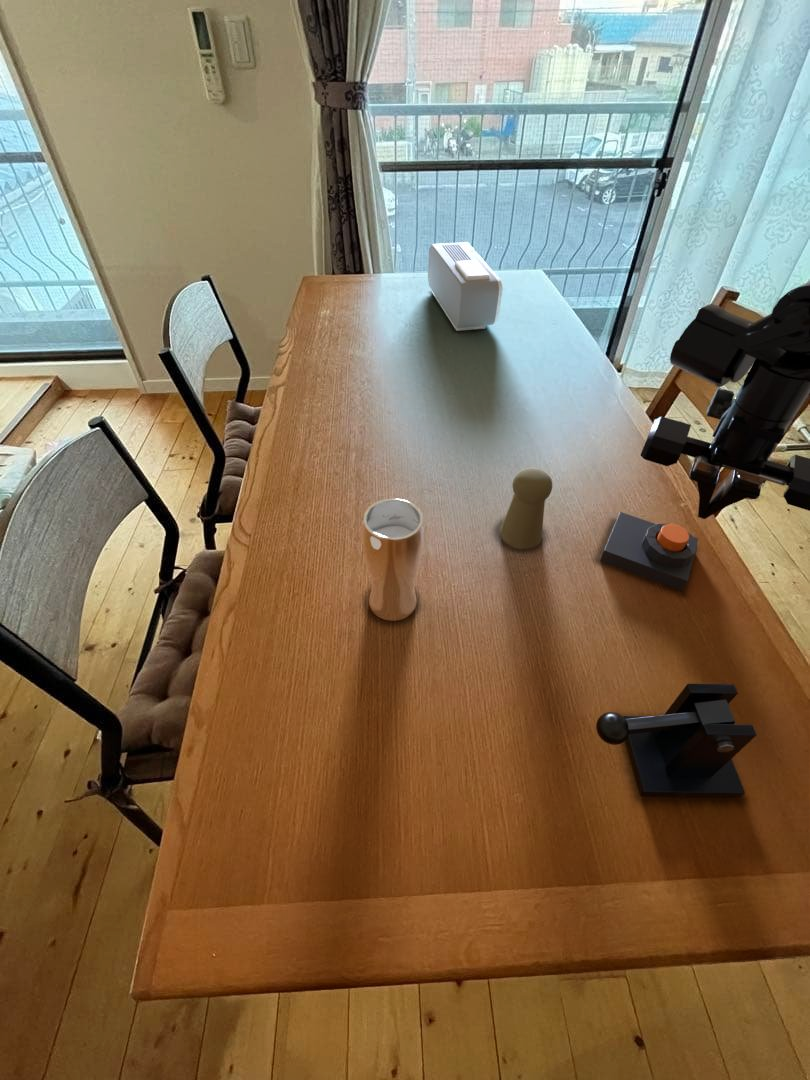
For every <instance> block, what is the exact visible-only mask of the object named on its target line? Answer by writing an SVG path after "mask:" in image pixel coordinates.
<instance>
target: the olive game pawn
mask: <svg viewBox="0 0 810 1080" xmlns="http://www.w3.org/2000/svg"><path fill="white" fill-rule="evenodd" d="M552 490H553V480H552V478H551V476H550V475H549V473H548V472H547V471H545V470H543V469H541V468H538V467H525V468H523V469H520V471H518V472H517V473H516V474H515V476H514V477H513V480H512V492H513V496H512V498H511V502H510V504H509V506H508V509H507V511H506V514H505V516H504V519H503V522H502V525H501V527H500V528H499V537H500V538H501V539H502V541H503V542H504V543H505V544H506V545H508V546H510V547H512V548H515V549H518V550H528V549H533V548H536V547H537V546H538V545H539V544H540V543H541V540H542V539H543V526H544V517H545V516H544V515H545V506H546V505H545V504H546V500H547V499H548V498H549V497H550V495H551V493H552Z"/></svg>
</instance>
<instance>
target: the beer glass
mask: <svg viewBox="0 0 810 1080" xmlns="http://www.w3.org/2000/svg"><path fill="white" fill-rule="evenodd" d="M424 537H425V536H424V516H423V512H422V511H421V509H420V508H419V507H418V506H417V505H416V504H414V503H412V502H411V501H408V500H406V499H403V498H385V499H381V500H377V501H375V502H374V503H372V504H371V505H369V507H368V508H367V509H366V510H365V512H364V514H363V527H362V550H363V558H364V563H365V566H366V570H367V572H368V575H369V580H370V583H371V590H370V593H369V597H368V598H369V600H368V604H369V608H370V610H371V611H372V613H373V614H374V615H375V616H376V617H378V618H380V619H381V620H384V621H389V622H396V621H397V622H398V621H402V620H405V619H406V618H408V617H410V615H412V614H413V612H414V611H415V609H416V606H417V595H416V591H415V582H416V578H417V576H418V573H419V570H420V567H421V563H422V558H423V553H424Z"/></svg>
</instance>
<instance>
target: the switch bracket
mask: <svg viewBox="0 0 810 1080" xmlns="http://www.w3.org/2000/svg"><path fill="white" fill-rule="evenodd" d="M738 695H739V692H738V689H737V688H736V685H735V684H733V683H689V682H688V683H687V684H686V685H685V686H684V687H683V689H682V691H680V692H679V694H678V696H677V697H676V698H675V699H674V701H673V702H672V703H671V705H670V706H669V708H668V709H667V710H666V712H665V713H664V714H663V715H669V714H678V713H687V712H693V707H694V703H697V702H706V701H715V700H724V699H726V700H727V702H728V705H729V704H730V703H731V702H732V701H733V700H734V699H735V698H736V697H737V696H738ZM622 716H623V717H624V718H625V719H632V718H641V717H650V716H651V715H622ZM755 737H757V732H756V730H755V728H754V726H753V724H736V723H735V724H703V725H702V726H701V727H700V728H699V730H698V729H697V727H693V728H684V729H674V730H665V731H655V732H645V733H636V734H629V736H628V738H627V739H626V740H625V741H624V742H625V745H626V748H627V751H628V755H629V759H630V762H631V766H632V770H633V773H634V776H635V780H636V784H637V787H638V792H639V795H640V797H669V798H670V797H671V798H673V797H675V798H676V797H677V798H679V797H680V798H737V799H738V798H739V799H740V798H741V797H743V796H744V795H745V794H746V791H745V789H744V786H743V785H742V782H741V779H740V777H739V775H738V772H737V769H736V767H735V764H734V762H733V760H732V759H733V758H734V757H735V756H736V755H738V753H740V752H741V750H743V749H744V748H745V747H746V746H747V745H748V744H749V743H750V742H751V741H753V740H754V739H755Z"/></svg>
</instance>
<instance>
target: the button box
mask: <svg viewBox="0 0 810 1080" xmlns="http://www.w3.org/2000/svg"><path fill="white" fill-rule="evenodd" d="M667 524H668V523H654V522H652V521H649V520H647V519H643V518H640V517H637V516H634V515H631V514H629V513H625V512H622V511H619V513H618V515H617V518H616V521H615V522H614V525H613V527H612V530H611V532H610V534H609V537H608V540H607V542H606V545H605V547H604V549H603V552H602V554H601V557H600V559H599V562H601V563H604V564H607V565H609V566H611V567H614V568H617V569H620V570H623V571H626V572H628V573H630V574H633V575H635V576H638V577H641V578H644V579H647V580H650V581H652V582H654V583H657V584H660V585H662V586H665V587H667V588H670V589H673V590H676V591H679V592H683V590H684V588H685V587H686V585H687V584H688V582H689V579H690V573H691V569H692V566H693V562H694V558H695V556H696V554H697V548H698V543H699V538H698V537H695V536H693V535H692V534H691V533H689V532H688V534H689V540H688V542H687V544H686V546H685V547H684V549H683V550H681V551H679V552H672V551H669V550H666V549H664V548H663V547H661V546H660V545H659V544H658V542H657V537H658V534H659V532H660V530H661V528H662V527H663V526H665V525H667Z"/></svg>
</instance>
